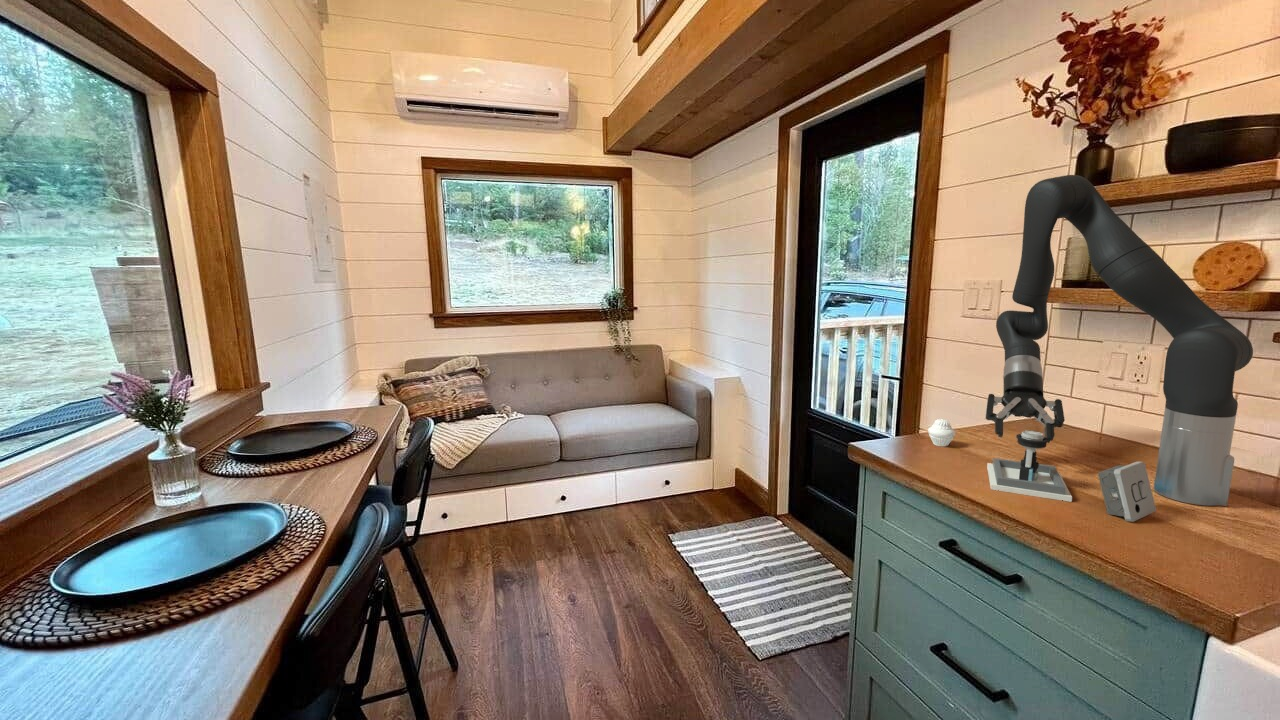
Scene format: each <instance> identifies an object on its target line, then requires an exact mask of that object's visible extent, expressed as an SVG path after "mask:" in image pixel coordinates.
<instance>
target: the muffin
mask: <svg viewBox="0 0 1280 720" xmlns="http://www.w3.org/2000/svg"><path fill="white" fill-rule="evenodd" d="M927 432H928V436H929V437H930V439H931V442H932V443H933V445H934V446H937V447H944V448H945V447H948V446H949V445H950V443H951V442H952V441H953V439H954V437H955V435H956V430H955V429H954V428H953V427H952V425H951V423H950V421H949V420H947V419H943V418H938V419H935V420H934V423H933V424H932V426H930V427H929V428H928V429H927Z"/></svg>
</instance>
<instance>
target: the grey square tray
mask: <svg viewBox="0 0 1280 720" xmlns="http://www.w3.org/2000/svg"><path fill="white" fill-rule="evenodd" d="M986 464H987V465H986V468H987V474H988V475H987V476H988V479H989V480H988V481H989V486H990V490H992V491H998V490H999V491H1000V492H1006V493H1013V494H1019V495H1025V496H1031V497H1038V498H1044V499H1050V500H1055V501H1062V500H1063V501H1062V502H1070V503H1072V501H1073V496H1072V494H1071V492H1070V491H1069V489H1068V487H1067V485H1066V482H1065V481H1064V480H1065V479H1063V476H1062V475H1061V473H1060V472H1058V469H1057V468H1056V465H1048V464H1041V463H1039V467H1038V469H1037V472H1038V478H1037V480H1036V477H1037V474H1036V473H1035V477H1034V479H1033V480H1032V481H1026V480H1019V473H1020V468H1021V465H1020V464H1021V460H1020V461H1019V460H1011V459H1003V458H995V457H993V460H992V463H991V462H987V463H986Z"/></svg>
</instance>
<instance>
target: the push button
mask: <svg viewBox="0 0 1280 720" xmlns="http://www.w3.org/2000/svg"><path fill="white" fill-rule="evenodd" d="M1016 439H1017V444H1018V445H1020V447H1023V448H1025V450H1024V456H1023V459H1021V460H1020V462H1021V464H1020V465H1021V468H1020V473H1019V480H1026V481H1032V480H1033V479H1034V477H1035V473H1036V474H1037V477H1036V480H1037V478H1038V472H1037V469H1038V467H1039V464H1040V463H1039V462H1038V461H1037V460H1038V459H1037V458H1038V457H1037V453H1038V452H1037V450H1042V449H1045V448H1046V447H1047V442H1048V439H1047V438H1045V436H1044V433H1042V432H1041V431H1040V432H1039V431H1037V430H1023V431H1022V432H1021V433H1019V434H1016Z"/></svg>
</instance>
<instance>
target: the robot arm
mask: <svg viewBox="0 0 1280 720" xmlns="http://www.w3.org/2000/svg"><path fill="white" fill-rule="evenodd" d="M1024 205H1025V206H1024V217H1023V231H1022V246H1021V257H1020V263H1019V269H1018V272H1017V276H1016V280H1015V284H1014V288H1013V290H1012V300H1013V302H1014V303H1016V304H1018V305H1021V306H1024V307H1025V306H1026V307H1029V308H1031V309H1032V310H1033V311H1022V310H1005V311H1003V312H1002V313H1000V314H999V315H998V317H997V319H996V323H995V324H996V325H995V328H996V332H997V335H998V337H999V339H1000V341H1001V344H1002V346H1003V349H1004V366H1003V374H1002V379H1003V395H1002V396H996V395H995V394H993V393H989V394H988V395H987V396H988V397H987V401H986V402H987V403H986V411H985V420H987V421H993V423H994V433H995V435H997V436H998V438H1003V436H1004V420H1006V419H1008V418H1010V416H1012V415H1013V416H1014V417H1016V418H1017V417H1019V418H1020V417H1024V418H1028V419H1029V418H1030V419H1031V418H1034V419H1035V420H1036V421H1037V422H1038V423H1041V424H1042V425H1043V426H1044V437H1045V438H1047V439H1048V442H1047V443H1048V444H1050V442H1051V441H1053V440H1054V438H1055V428H1062V427H1063V426H1064V423H1065V413H1064V407H1063V402H1062V399H1059V398H1056V399H1055V400H1046V399H1045V397H1044V379H1043V378H1044V377H1043V376H1044V375H1043V367H1042V361H1041V347H1040V345H1039V343H1038V342H1037V341H1038V340H1040V339H1042V338H1044V337H1045V336H1046V335H1047V332H1048V329H1049V320H1048V312H1047V310H1048V309H1047V308H1048V307H1047V305H1048V298H1049V294H1050V290H1051V287H1052V284H1053V280H1054V277H1055V262H1054V257H1053V253H1052V247H1051V246H1052V245H1051V241H1052V234H1053V231H1054V228H1055V226H1056V223H1057V221H1058V219H1063V218H1064V219H1065V220H1066V221H1068V222H1069V223H1070V224H1072V226H1073V227H1074V228H1076V229H1077V231H1079V233H1081V235H1082V236H1083V238H1084V240H1085V242H1086V246H1087V252H1088V257H1089V261H1090V264H1091V267H1092V269H1093V270H1094V272H1095V273H1096V274H1097V276H1099V278H1100V279H1101V280H1102V281H1103V282H1104V283H1105V284H1106V285H1107V286H1108V287H1109V288H1110V289H1111V291H1113V292H1114V293H1116V294H1117V295H1118V296H1119V297H1120V298H1122V299H1123V300H1124V301H1126V302H1127V303H1129V304H1131V305H1132V306H1134V307H1135V308H1136V309H1139V310H1140V311H1142V312H1144V313H1145V314H1147V315H1149V316H1150V317H1152V319H1154V320H1155V321H1157V322H1158V323H1159V324H1160V325H1161V326H1162V327H1163V328H1164V329H1165V331H1166V332H1168V334H1169V335H1170V336H1171V338H1173V339H1172V341H1171V342H1170V343H1169V346H1168V348H1167V350H1166V351H1167V352H1166V355H1165V362H1164V372H1163V387H1162V391H1163V395H1164V398H1165V406H1164V411H1163V412H1164V413H1163V421H1162V427H1161V434H1160V441H1159V448H1158V454H1157V462H1156V463H1157V464H1156V469H1155V470H1156V471H1155V476H1154V484H1153V490H1154V492H1155V493H1157V494H1159V495H1161V496H1163V497H1166V498H1168V499H1171V500H1175V501H1177V502H1182V503H1187V504H1192V505H1199V506H1210V507H1211V506H1223V507H1224V506H1225V507H1227V506H1228V501H1229V496H1230V489H1231V482H1232V477H1233V470H1234V465H1235V457H1234V456H1233V455H1231V449H1232V442H1233V436H1234V430H1235V424H1236V418H1237V413H1238V405H1239V404H1238V403H1239V402H1238V401H1237V399H1236V398H1235V397H1234V393H1233V391H1234V390H1233V389H1234V382H1235V376H1236V375H1235V374H1236V372H1237V371H1240V370H1242V369H1243V368H1245V367H1247V366H1248V364H1250V362H1251V360H1252V359H1253V355H1254V347H1253V345H1252V342H1251V339H1249V337H1247V335H1246V334H1245V333H1243V332H1242V331H1241V330H1240V329H1238V328H1237V327H1236V326H1234V325H1233V324H1232V323H1231V322H1229V321H1228V320H1226V319H1225V318H1224V317H1223V316H1221V315H1220V314H1219V313H1218V312H1216V311H1215V309H1212V307H1210V306H1209V305H1208V304H1207V303H1205V302H1204V301H1203V300H1202V299H1201V298H1200V297H1199V296H1198V295H1197V294H1196V293H1195V292H1194V290H1192V289H1191V287H1189V285H1188V284H1187V283H1186V282H1185V280H1183V279H1182V278H1181V277H1180V276H1179V274H1177V273H1176V271H1175V270H1173V268H1171V267H1170V265H1169V264H1167V261H1165V260H1164V258H1162V257H1161V256H1160V255H1159V254H1158V253H1157V252H1156V250H1154V249H1153V248H1152V247H1150V245H1149V244H1147V243H1146V242H1145V241H1144V240H1143V239H1142V238H1140V237H1139V235H1138V234H1137V233H1136V232H1135V231H1134V230H1133V229H1132V228H1131V227H1130V226H1129V225H1128V224H1127V223H1126V222H1125V221H1123V219H1121V218H1120V216H1118V214H1116V213H1115V211H1114V210H1113V209H1112V207H1111V206H1110V205H1109V204H1108V203H1107V201H1106V200H1105V199H1104V197H1103V196H1102V195H1101V194H1100V192H1099V191H1098V190H1097V188H1096V187H1095V186H1094V185H1093V184H1092V183H1091V182H1090V180H1089V179H1087V178H1086V177H1084V176H1081V175H1078V174H1065V175H1062V176H1054V177H1050V178H1049V177H1048V178H1045V179H1041V180H1040V181H1038V182H1036V183H1034V184H1033V186H1032V187H1031V188H1030V189H1029V191H1028V192H1027V196H1026V199H1025V204H1024ZM998 404H1001V405H1002V407H1003V408H1002V409H1001V410H1000V411H999V412H998V413H995V412H994V407H996V406H998ZM1046 407H1048V408H1049V410H1050V411H1051V412H1053V417H1054V418H1052V417H1051V415H1049V414H1048V412H1047V411H1046V409H1045V408H1046Z"/></svg>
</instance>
